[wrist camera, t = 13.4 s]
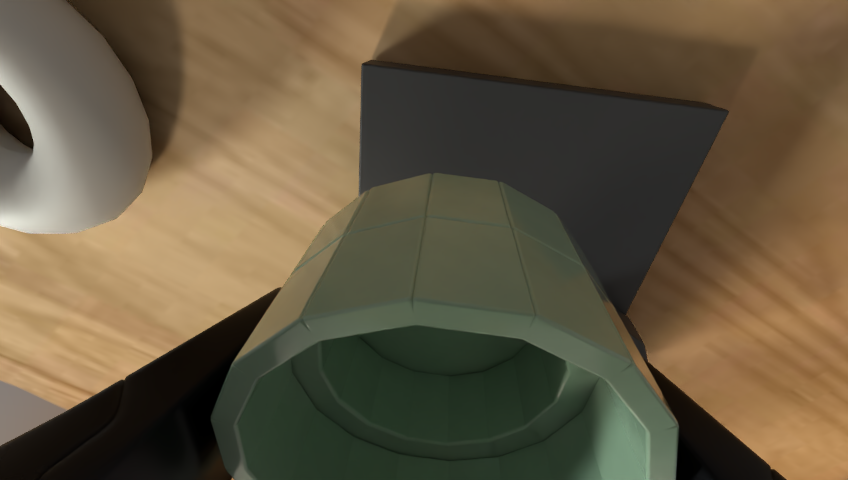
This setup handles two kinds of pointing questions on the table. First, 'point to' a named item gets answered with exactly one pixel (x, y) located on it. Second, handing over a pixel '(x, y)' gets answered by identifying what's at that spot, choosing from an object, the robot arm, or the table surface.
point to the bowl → (443, 352)
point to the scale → (546, 154)
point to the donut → (67, 122)
